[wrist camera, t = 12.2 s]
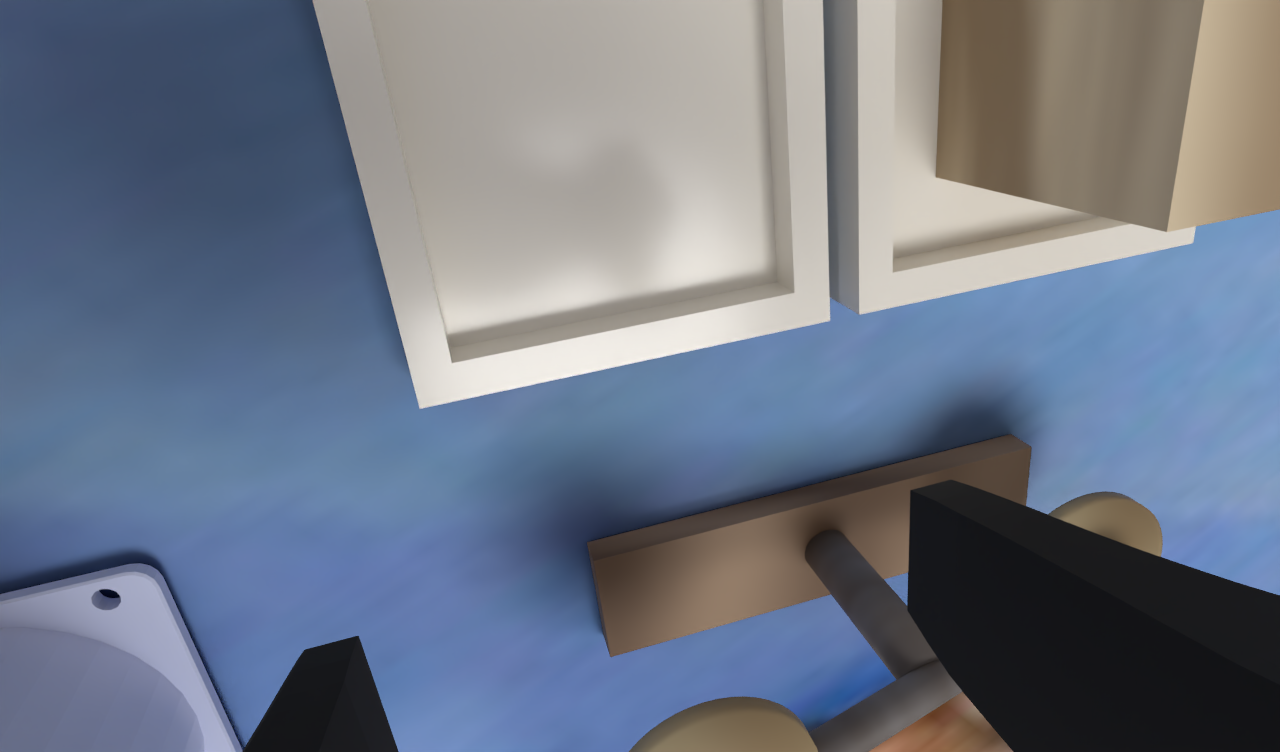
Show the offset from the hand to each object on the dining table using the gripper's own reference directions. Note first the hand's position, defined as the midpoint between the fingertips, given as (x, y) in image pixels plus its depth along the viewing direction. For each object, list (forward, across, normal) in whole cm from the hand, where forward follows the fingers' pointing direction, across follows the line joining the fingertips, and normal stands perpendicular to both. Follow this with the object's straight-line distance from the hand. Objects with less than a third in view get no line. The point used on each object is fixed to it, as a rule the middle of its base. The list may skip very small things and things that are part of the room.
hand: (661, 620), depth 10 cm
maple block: (+8, -11, -5) cm, 14 cm away
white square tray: (+8, -2, -5) cm, 10 cm away
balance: (+8, -6, +6) cm, 12 cm away
